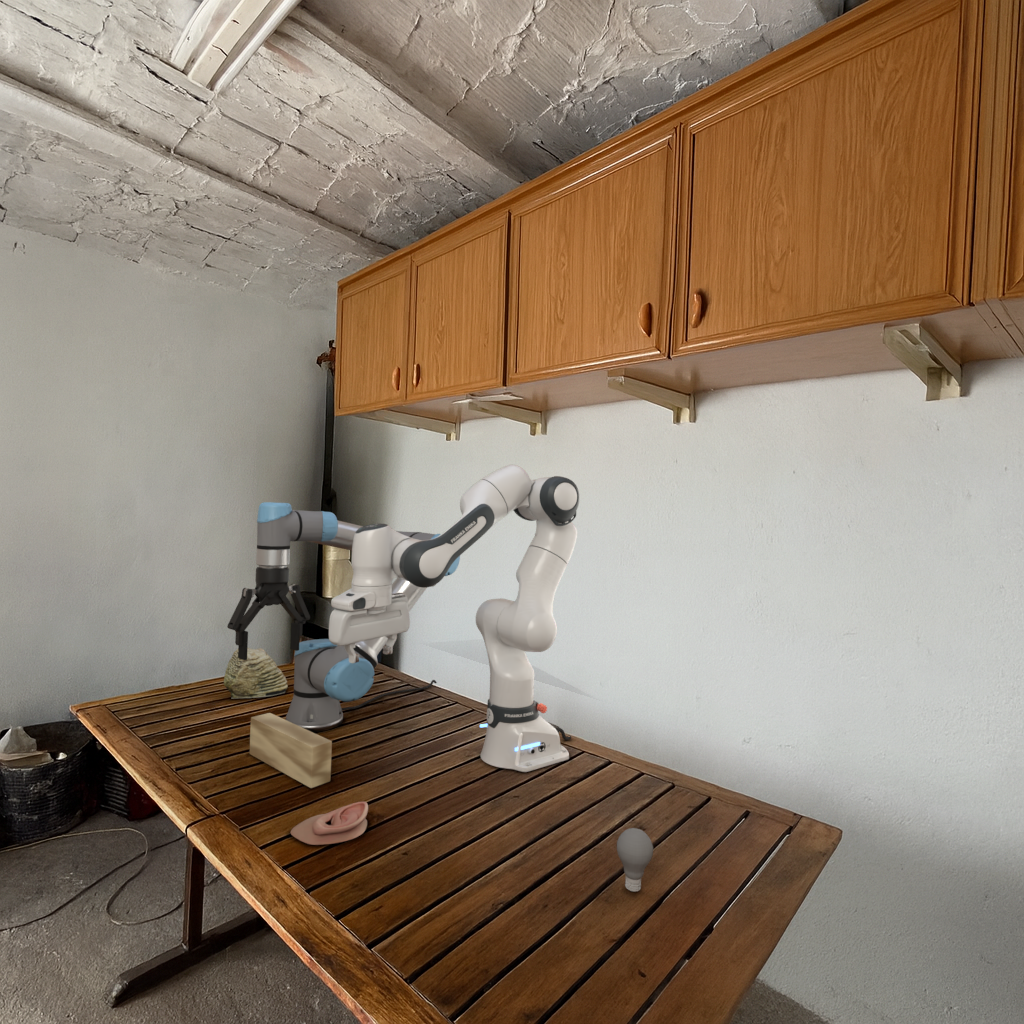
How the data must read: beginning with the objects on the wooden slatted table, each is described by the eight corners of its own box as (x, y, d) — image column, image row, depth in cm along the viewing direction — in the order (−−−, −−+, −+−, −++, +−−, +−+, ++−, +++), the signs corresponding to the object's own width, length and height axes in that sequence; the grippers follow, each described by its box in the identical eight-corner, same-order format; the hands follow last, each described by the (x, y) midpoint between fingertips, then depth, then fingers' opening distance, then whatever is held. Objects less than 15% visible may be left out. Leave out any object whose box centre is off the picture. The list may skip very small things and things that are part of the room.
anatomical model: (282, 818, 116) (314, 791, 127) (281, 840, 116) (313, 810, 127) (349, 829, 113) (375, 800, 125) (348, 851, 113) (374, 820, 125)
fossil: (219, 695, 195) (221, 647, 195) (279, 686, 207) (281, 640, 207) (229, 703, 188) (231, 653, 188) (290, 693, 201) (292, 646, 200)
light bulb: (610, 878, 109) (613, 821, 108) (645, 878, 109) (647, 821, 109) (619, 901, 103) (622, 840, 103) (655, 900, 103) (658, 839, 103)
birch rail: (268, 748, 158) (269, 712, 157) (330, 781, 141) (332, 741, 141) (249, 754, 154) (250, 717, 154) (310, 788, 137) (312, 747, 137)
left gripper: (309, 562, 164) (305, 643, 165) (213, 567, 145) (210, 659, 145) (326, 565, 160) (323, 648, 160) (230, 571, 140) (226, 666, 141)
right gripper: (398, 589, 151) (397, 647, 152) (324, 600, 135) (324, 664, 136) (416, 592, 147) (415, 651, 148) (342, 604, 131) (342, 670, 132)
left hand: (269, 654), depth 153 cm, fingers open, 13 cm apart
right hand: (371, 658), depth 142 cm, fingers open, 8 cm apart
